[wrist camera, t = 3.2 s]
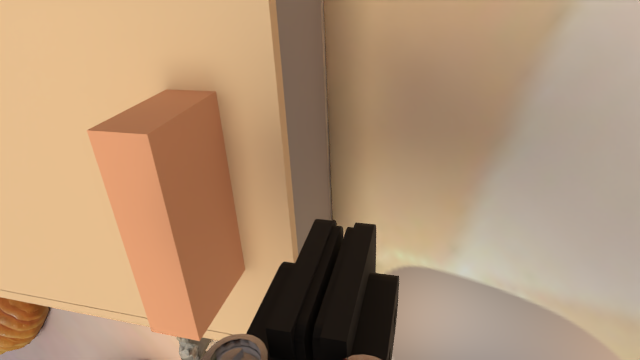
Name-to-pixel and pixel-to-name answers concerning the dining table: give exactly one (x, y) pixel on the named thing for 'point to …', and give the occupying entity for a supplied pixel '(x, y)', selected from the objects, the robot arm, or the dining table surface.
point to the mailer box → (306, 109)
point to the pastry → (19, 323)
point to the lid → (144, 160)
